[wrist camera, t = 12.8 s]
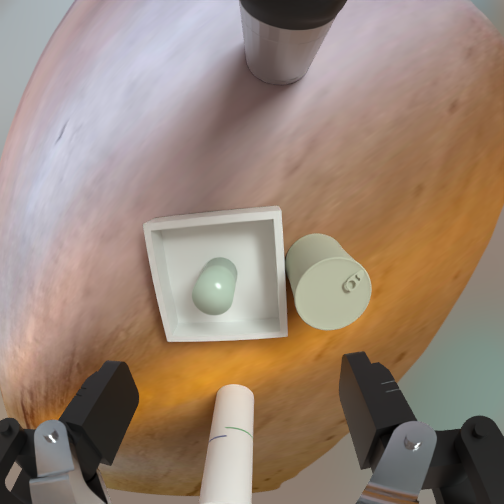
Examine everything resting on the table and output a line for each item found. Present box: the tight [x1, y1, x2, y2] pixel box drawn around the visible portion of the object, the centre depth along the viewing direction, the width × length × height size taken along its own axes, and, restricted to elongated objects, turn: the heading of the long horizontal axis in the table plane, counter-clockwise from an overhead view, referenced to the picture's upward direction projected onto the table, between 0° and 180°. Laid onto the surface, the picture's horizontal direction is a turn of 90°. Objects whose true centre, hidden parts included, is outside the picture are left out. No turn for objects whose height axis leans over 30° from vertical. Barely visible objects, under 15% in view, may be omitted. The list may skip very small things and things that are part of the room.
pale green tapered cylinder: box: [192, 257, 238, 315], centre depth 38 cm, size 5×5×8 cm
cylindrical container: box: [199, 384, 254, 504], centre depth 38 cm, size 7×7×25 cm
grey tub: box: [143, 206, 288, 342], centre depth 40 cm, size 18×18×5 cm
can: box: [285, 234, 371, 330], centre depth 36 cm, size 9×9×12 cm
